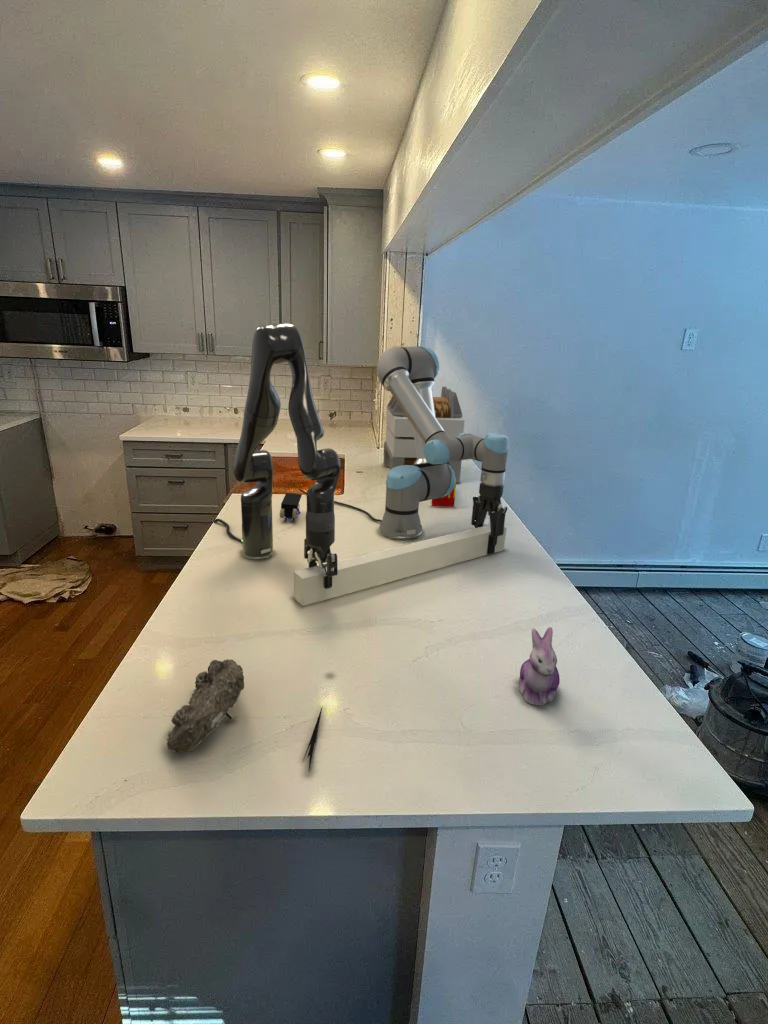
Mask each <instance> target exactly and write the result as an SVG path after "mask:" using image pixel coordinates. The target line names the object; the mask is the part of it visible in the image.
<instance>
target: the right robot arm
mask: <svg viewBox="0 0 768 1024" xmlns="http://www.w3.org/2000/svg"><path fill="white" fill-rule="evenodd" d="M439 371H440V361H439V357H438V355H437V354H436V353H435V351H434V350H432V349H431V348H430V347H427V346H420V345H417V346H416V345H415V346H414V345H413V346H391V347H389V348H387V349H386V350H384V351H383V352H382V353H381V355H380V356H379V357H378V361H377V365H376V373H377V377H378V380H379V382H380V384H381V386H382V387H383V389H384V390H385V391H387V392H390V394H391V396H393V397H394V398H395V400H396V401H397V403H398V404H399V406H400V407H401V409H402V410H403V412H404V413H405V415H406V416H407V418H408V419H409V421H410V422H411V424H412V427H413V434H414V441H415V447H416V454H417V460H416V462H415V463H414V466H413V465H402V466H397V467H394V468H392V469H391V470H390V469H389V470H388V472H387V475H386V479H385V504H384V505H385V507H384V508H385V509H384V513H383V515H382V519H379V518H374V517H373V515H372V514H370V513H369V512H368V511H366V510H364V509H362V508H359V507H358V506H357V507H356V506H354V505H351V504H347V503H345V502H340V501H337V500H334V504H336V505H340V506H344V507H348V508H351V509H353V510H356V511H359V512H362V513H364V514H365V515H367V516H368V518H369V519H371V520H372V521H374V522H378V523H379V527H378V533H379V534H380V535H381V536H382V537H385V538H387V539H389V540H395V541H410V540H415V539H418V538H420V537H421V536H422V535H423V525H422V524H421V518H420V515H419V507H420V506H419V505H420V503H421V502H426V501H430V500H431V501H432V499H437V498H441V497H444V496H447V495H449V494H450V493H451V491H452V490H453V488H454V486H455V473H454V471H453V469H452V468H451V466H449V465H447V464H446V463H448V462H453V461H461V460H462V461H466V460H474V461H477V462H480V463H481V467H480V468H481V470H480V478H479V479H480V480H479V481H480V482H479V488H478V494H479V495H475V496H473V497H472V514H471V519H470V520H471V521H470V524H471V526H473V527H474V528H478V527H482V526H484V524H485V520H486V518H487V515H488V516H489V525H490V528H491V535H489V539H488V548H487V554H488V555H487V556H489V555H492V554H495V553H494V552H495V545H496V544H497V538H498V536H501V535H503V532H504V527H505V522H506V514H507V511H508V506H504V505H503V504H502V501H501V499H502V497H503V495H504V488H505V487H504V483H505V478H506V469H507V468H506V466H507V460H508V453H509V440H510V439H509V437H508V436H507V435H505V434H502V433H487V434H485V436H484V437H483V436H478V435H475V434H473V433H466V432H463V433H461V434H459V435H458V436H456V437H455V438H449V437H448V435H447V434H446V433H445V431H444V430H443V428H442V427H441V425H440V424H439V422H438V421H437V419H436V418H435V411H434V404H433V398H432V397H433V391H432V387H433V386H434V385H435V378H437V376H438V374H439ZM298 491H299V492H301V493H303V494H305V495H307V491H305V490H303V489H301V488H299V489H298Z"/></svg>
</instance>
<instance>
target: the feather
mask: <svg viewBox="0 0 768 1024" xmlns="http://www.w3.org/2000/svg"><path fill="white" fill-rule="evenodd" d="M329 675H330V676H331V675H332V674H331V673H330V674H329ZM322 710H323V707H321V708H320V710H319V713H318V716H317V719H316V723H315V725H314V728H313V731H312V733H311V737H310V739H309V742H308V745H307V748H306V751H305V754H304V757H303V760H302V763H301V767H302V765H303V763H304V761H305V758H308V759H309V760H308V762H307V763H308V764H307V766H308V771H310V770H311V766H312V765H311V764H312V760H313V757H315V756H314V755H315V751H316V749H315V746H317V739H318V733H319V729H320V722H321V717H322V712H323V711H322ZM313 754H314V755H313ZM306 755H307V757H306Z"/></svg>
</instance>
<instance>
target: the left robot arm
mask: <svg viewBox="0 0 768 1024" xmlns="http://www.w3.org/2000/svg"><path fill="white" fill-rule="evenodd" d="M252 337H253V338H252V343H251V345H252V346H251V359H250V373H249V383H248V389H247V395H246V399H245V405H244V410H243V418H242V428H241V431H240V436H239V440H238V444H237V447H236V451H235V454H234V459H233V474H234V477H235V479H236V480H237V482H239V483H242V484H248V483H249V484H250V483H255V484H254V485H253V486H252V487H250V488H248V489H246V490H245V491H243V492H242V493H241V494H240V509H241V511H240V512H241V513H240V514H241V539H240V538H238V536H236V535H234V534H233V533H232V532H231V530H230V525H229V524H228V523H227V522H226V521H225V520H223V519H220V518H215V519H214V520H213V523H214V524H216V523H217V522H218V523H220V524H222V525H223V526H224V527H226V533H227V535H228V536H229V537H230V538H231V539H232V540H234V541H236V542H238V543H242V545H241V546H242V556H243V557H244V558H245V559H247V560H253V561H260V560H261V561H262V560H267V559H269V558H271V557H273V555H274V554H275V553H274V533H273V531H274V530H273V528H274V526H273V489H274V488H273V486H274V461H273V457H272V454H271V453H270V452H269V451H268V450H266V449H260V450H257V448H258V447H259V445H260V444H262V443H263V442H264V441H265V440H266V439H267V438H268V437H269V436H270V435H271V433H273V432H274V430H275V429H276V427H277V424H278V422H279V418H280V417H279V416H280V412H281V408H282V404H281V399H280V396H279V393H278V392H277V391H276V388H275V387H274V385H273V383H272V381H271V372H272V369H273V366H274V364H281V363H282V364H283V363H287V364H288V365H289V368H290V372H291V378H292V379H291V387H290V394H289V398H288V416H289V420H290V423H291V426H292V429H293V432H294V434H295V435H294V436H295V438H296V448H297V449H296V450H297V461H298V467H299V470H300V472H301V474H302V475H303V476H304V478H305V479H307V480H309V481H315V482H314V483H313V484H312V485H311V486H310V487H309V488H307V491H306V492H307V494H306V513H305V538H304V542H303V543H304V544H303V559H305V560H306V562H307V564H308V568H311V567H315V566H320V568H321V569H322V570H323V573H324V588H325V589H328V588H331V587H332V576H335V575H337V574H338V571H337V561H338V554H337V553H332V552H331V551H332V550H331V546H332V545H333V544H334V543H335V540H336V538H335V537H336V515H335V503H334V501H335V493H336V488H337V485H338V483H339V478H340V473H341V469H342V468H341V465H342V464H341V459H340V455H339V454H338V453H337V451H335V449H334V448H333V449H332V448H330V447H329V448H322V449H318V445H317V442H318V441H319V440H321V439H322V438H323V437H324V435H325V431H324V430H325V429H324V428H323V424H322V421H321V418H320V415H319V412H318V409H317V407H316V402H315V399H314V397H313V396H314V395H313V391H312V386H311V380H310V374H309V367H308V363H307V358H306V352H305V347H304V343H303V339H302V336H301V333H300V331H299V329H298V327H296V326H295V325H294V323H293V324H292V323H289V322H284V323H283V322H282V323H274V324H273V323H272V324H265V325H260V326H258V327H256V329H255V331H254V334H253V336H252ZM326 567H327V571H326ZM333 568H334V571H333Z"/></svg>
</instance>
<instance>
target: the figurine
mask: <svg viewBox="0 0 768 1024" xmlns="http://www.w3.org/2000/svg"><path fill="white" fill-rule="evenodd" d="M553 635H554V631H553V627H551V626H549V627H547V628H546V630H545V632H544V634H543V637H542V636H541V634H540V633H539V632H538V630H537V629H536V628H535V627H534V628H532V629H531V642H532V644H531V645H532V649H531V651H530V653H529V658H528V659H526V660H525V661H524V662H523V663H522V664H521V666H520V668H519V669H520V670H519V679H518V690H519V693H520V694H521V695H522V696H523V697H524V698H523V699H524V700H525V702H526V703H528V704H531V705H535V706H545V705H546V704H547V703H551V702H553V701H554V699H555V697H556V694H557V691H558V688H559V686H560V680H561V677H560V673H559V669H558V668H557V665H558V658H557V655H556V652H555V650H554V648H553Z"/></svg>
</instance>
